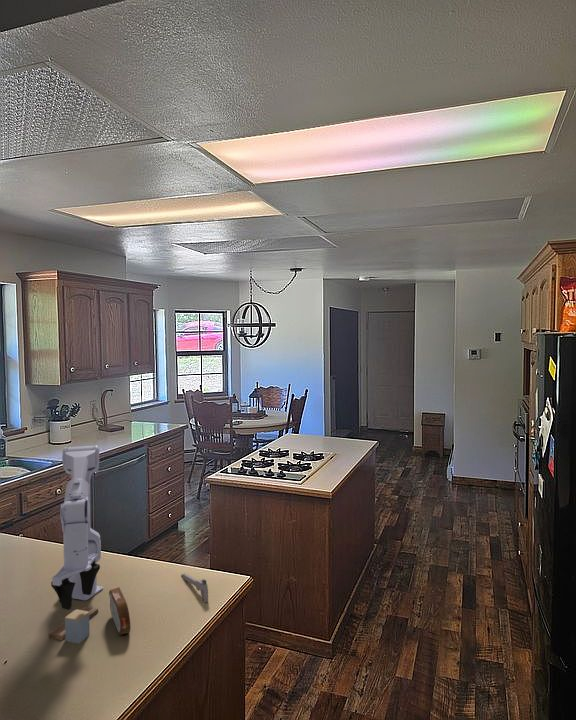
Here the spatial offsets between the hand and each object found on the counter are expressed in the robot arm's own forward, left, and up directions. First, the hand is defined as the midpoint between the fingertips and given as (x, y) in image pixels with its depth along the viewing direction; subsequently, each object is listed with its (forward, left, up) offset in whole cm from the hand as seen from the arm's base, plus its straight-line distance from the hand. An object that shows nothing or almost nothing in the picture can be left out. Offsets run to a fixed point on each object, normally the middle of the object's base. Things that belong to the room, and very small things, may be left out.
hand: (76, 601), depth 131 cm
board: (-5, +5, -9) cm, 12 cm away
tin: (+7, +8, -10) cm, 14 cm away
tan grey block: (0, 0, -10) cm, 10 cm away
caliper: (+16, +32, -10) cm, 37 cm away
